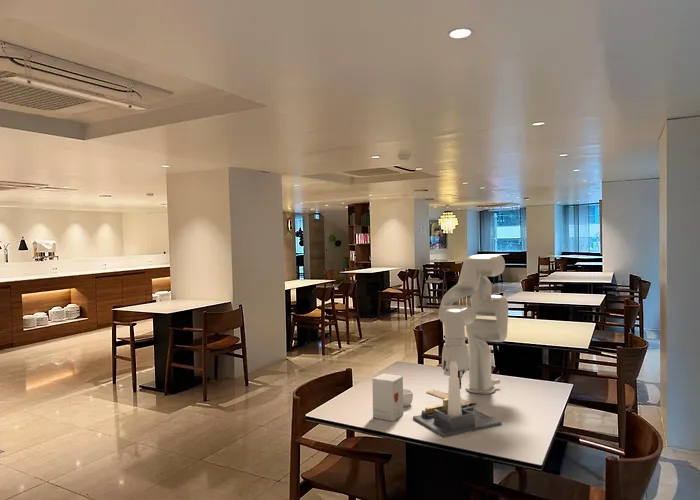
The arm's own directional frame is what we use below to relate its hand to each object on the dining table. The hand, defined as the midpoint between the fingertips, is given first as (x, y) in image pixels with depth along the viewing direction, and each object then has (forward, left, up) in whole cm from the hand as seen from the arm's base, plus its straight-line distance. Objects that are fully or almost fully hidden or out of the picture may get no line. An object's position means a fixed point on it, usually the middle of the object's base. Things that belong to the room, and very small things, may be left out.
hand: (456, 388), depth 189 cm
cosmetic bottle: (+9, +11, -9) cm, 17 cm away
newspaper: (-8, -15, -10) cm, 20 cm away
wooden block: (+10, +1, -8) cm, 13 cm away
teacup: (+14, -19, -10) cm, 25 cm away
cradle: (+7, +8, -9) cm, 14 cm away
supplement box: (+26, -9, -10) cm, 29 cm away
